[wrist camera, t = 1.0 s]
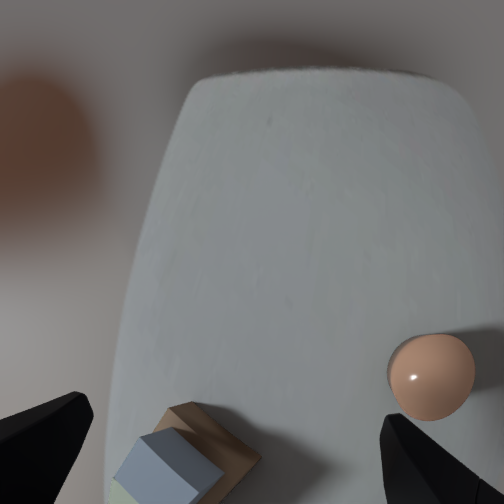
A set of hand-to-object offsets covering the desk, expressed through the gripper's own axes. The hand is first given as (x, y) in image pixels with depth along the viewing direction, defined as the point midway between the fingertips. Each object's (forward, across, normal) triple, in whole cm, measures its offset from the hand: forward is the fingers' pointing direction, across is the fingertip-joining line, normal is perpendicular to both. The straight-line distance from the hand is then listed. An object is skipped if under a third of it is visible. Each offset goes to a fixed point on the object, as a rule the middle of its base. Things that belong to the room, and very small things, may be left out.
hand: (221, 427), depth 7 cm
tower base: (+10, +5, +14) cm, 18 cm away
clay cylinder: (+10, -10, +6) cm, 15 cm away
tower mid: (+7, +6, +12) cm, 15 cm away
